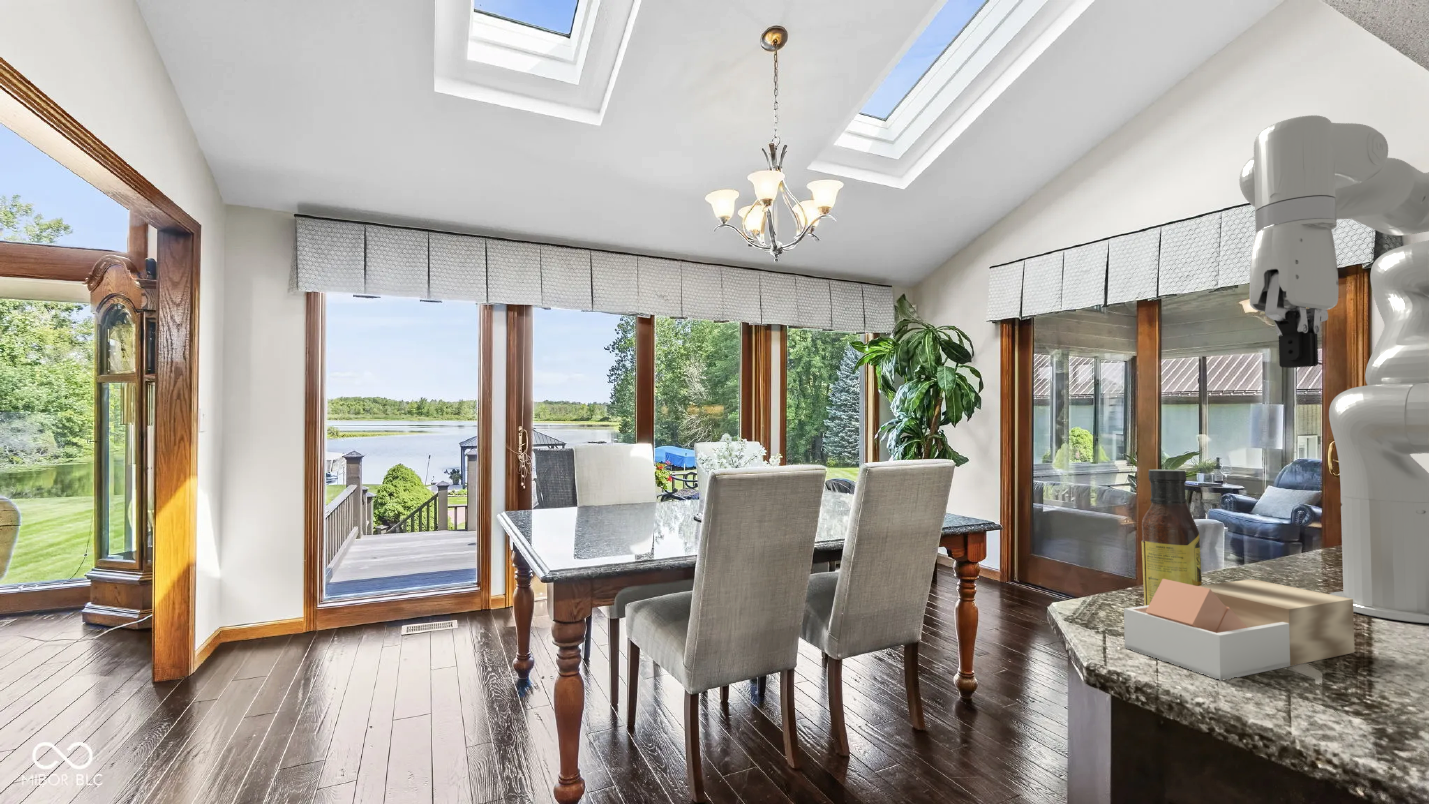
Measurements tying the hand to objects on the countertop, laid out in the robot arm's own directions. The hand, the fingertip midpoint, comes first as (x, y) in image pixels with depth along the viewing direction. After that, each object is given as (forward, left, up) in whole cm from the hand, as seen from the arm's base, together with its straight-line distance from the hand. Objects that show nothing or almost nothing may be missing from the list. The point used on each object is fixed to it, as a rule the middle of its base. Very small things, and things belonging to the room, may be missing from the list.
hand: (1298, 366), depth 79 cm
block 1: (+21, 0, -29) cm, 36 cm away
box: (+20, +1, -33) cm, 39 cm away
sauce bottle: (+10, -9, -33) cm, 36 cm away
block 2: (+18, +1, -28) cm, 34 cm away
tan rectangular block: (+8, +1, -33) cm, 34 cm away
